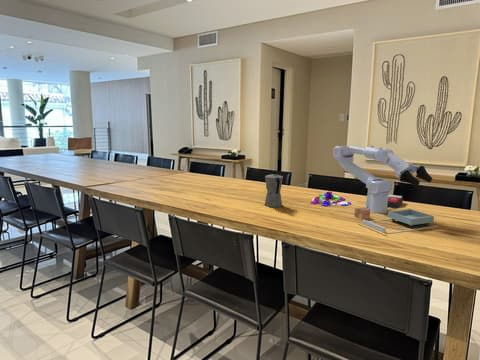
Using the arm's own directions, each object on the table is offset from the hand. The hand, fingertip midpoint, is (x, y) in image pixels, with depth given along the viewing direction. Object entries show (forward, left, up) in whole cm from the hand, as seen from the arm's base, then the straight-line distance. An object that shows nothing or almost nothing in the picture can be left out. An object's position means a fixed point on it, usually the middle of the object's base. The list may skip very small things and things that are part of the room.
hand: (424, 182), depth 142 cm
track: (-1, -11, -18) cm, 21 cm away
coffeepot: (-50, -44, -18) cm, 69 cm away
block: (-15, -18, -18) cm, 30 cm away
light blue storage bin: (-1, -5, -17) cm, 18 cm away
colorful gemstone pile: (-48, -10, -19) cm, 53 cm away
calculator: (-33, +15, -19) cm, 41 cm away
